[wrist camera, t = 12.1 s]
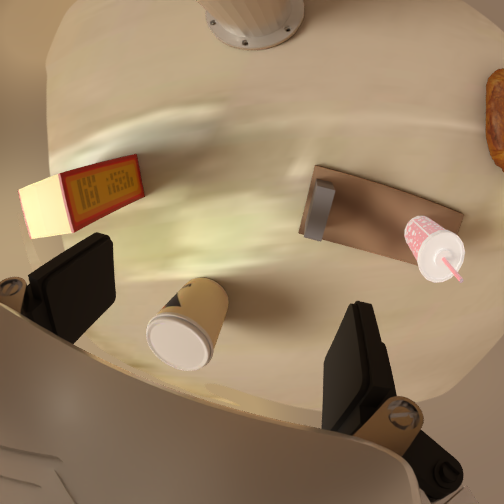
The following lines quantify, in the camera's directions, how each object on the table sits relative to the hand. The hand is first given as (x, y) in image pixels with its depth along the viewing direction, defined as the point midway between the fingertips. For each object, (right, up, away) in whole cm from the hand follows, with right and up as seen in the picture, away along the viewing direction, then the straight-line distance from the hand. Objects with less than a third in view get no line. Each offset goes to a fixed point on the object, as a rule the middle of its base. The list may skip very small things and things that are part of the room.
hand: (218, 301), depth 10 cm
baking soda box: (-20, +13, +30) cm, 38 cm away
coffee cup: (-6, -5, +35) cm, 36 cm away
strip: (+19, +6, +25) cm, 32 cm away
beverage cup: (+24, +5, +25) cm, 34 cm away
